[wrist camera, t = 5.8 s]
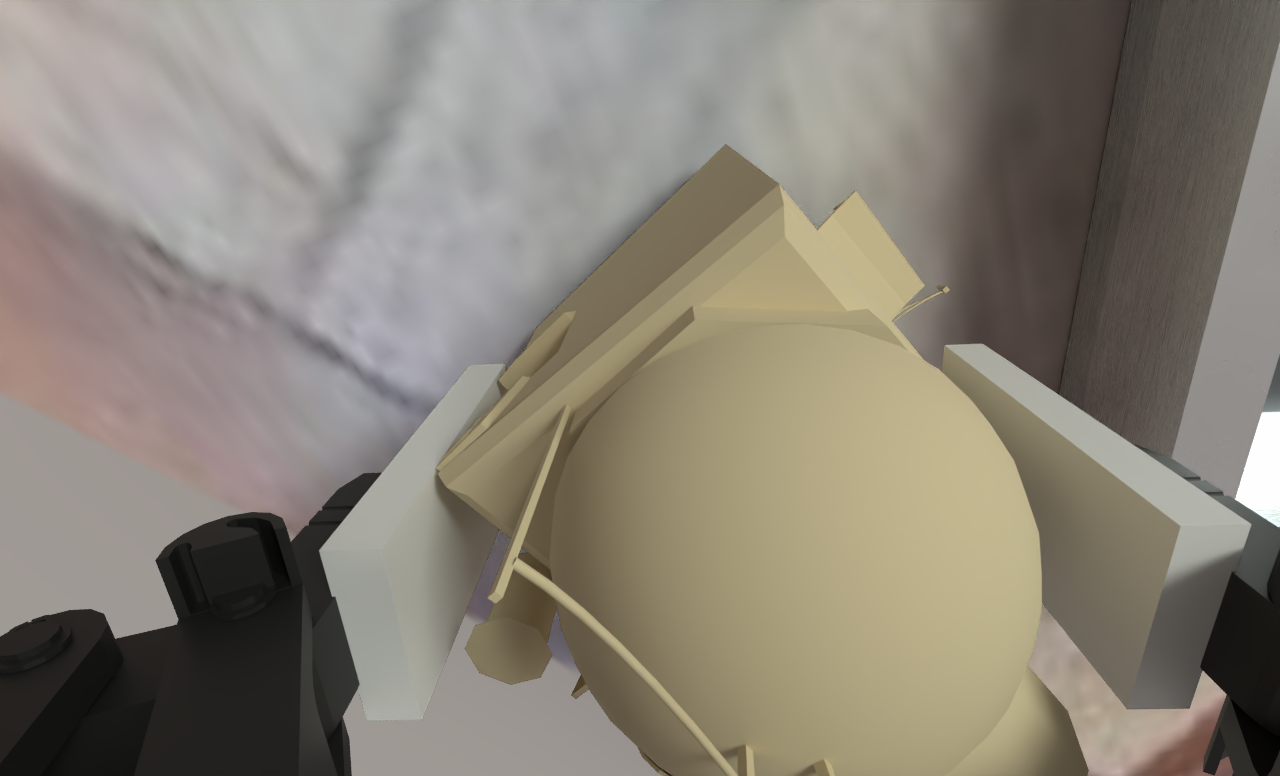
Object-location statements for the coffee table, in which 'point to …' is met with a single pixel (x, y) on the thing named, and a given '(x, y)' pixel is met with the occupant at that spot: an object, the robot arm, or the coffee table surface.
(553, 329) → the robot
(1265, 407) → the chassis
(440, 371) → the coffee table surface
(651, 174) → the coffee table surface
